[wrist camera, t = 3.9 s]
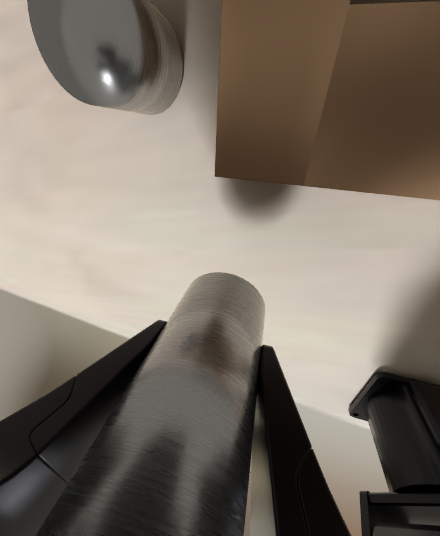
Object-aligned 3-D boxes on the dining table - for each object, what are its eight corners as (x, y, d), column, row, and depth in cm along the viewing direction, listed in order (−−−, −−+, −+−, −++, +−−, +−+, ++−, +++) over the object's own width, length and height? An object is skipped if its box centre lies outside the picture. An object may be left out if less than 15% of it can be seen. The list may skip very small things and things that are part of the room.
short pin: (184, 116, 11) (142, 107, 8) (116, 112, 12) (53, 103, 9) (181, 1, 9) (123, -77, 6) (99, 5, 10) (5, -63, 6)
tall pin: (258, 342, 11) (225, 628, 5) (187, 325, 12) (72, 554, 5) (272, 281, 9) (247, 647, 3) (185, 265, 10) (-9, 523, 3)
